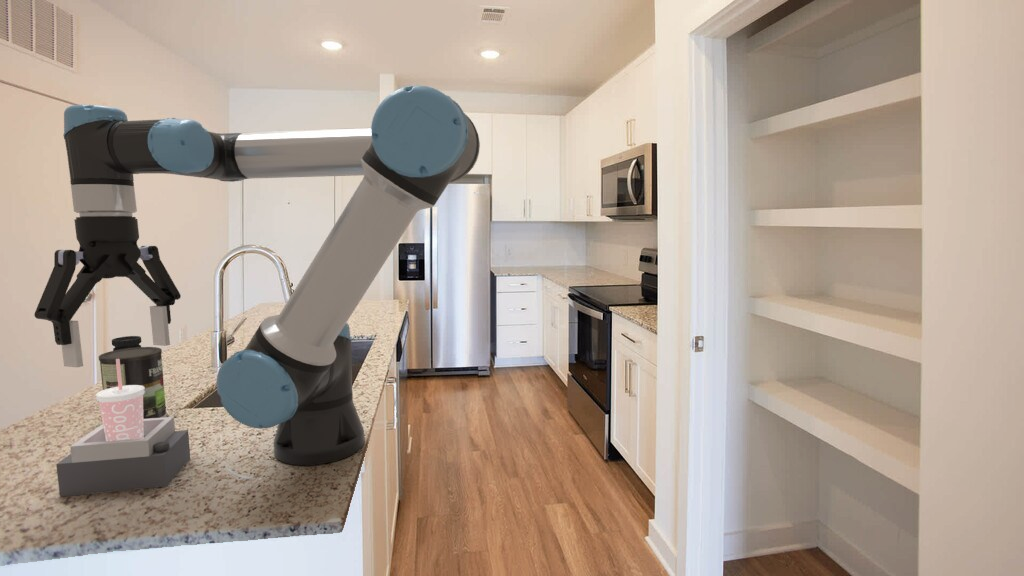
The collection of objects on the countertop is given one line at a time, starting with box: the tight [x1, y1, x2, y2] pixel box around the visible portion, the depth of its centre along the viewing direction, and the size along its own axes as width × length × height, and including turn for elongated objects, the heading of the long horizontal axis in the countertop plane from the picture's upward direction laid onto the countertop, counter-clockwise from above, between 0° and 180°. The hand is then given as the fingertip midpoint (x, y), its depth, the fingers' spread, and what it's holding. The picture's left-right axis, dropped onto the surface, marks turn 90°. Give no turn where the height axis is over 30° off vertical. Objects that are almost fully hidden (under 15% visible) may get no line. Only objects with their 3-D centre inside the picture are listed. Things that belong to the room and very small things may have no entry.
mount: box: [55, 416, 191, 498], centre depth 84 cm, size 14×10×8 cm
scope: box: [111, 335, 142, 351], centre depth 121 cm, size 8×14×10 cm
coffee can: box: [98, 346, 168, 419], centre depth 108 cm, size 10×10×14 cm
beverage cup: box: [95, 359, 145, 441], centre depth 83 cm, size 6×6×14 cm
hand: (121, 355), depth 83 cm, fingers open, 13 cm apart
